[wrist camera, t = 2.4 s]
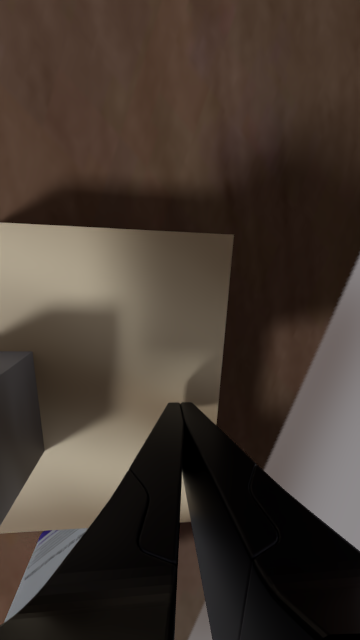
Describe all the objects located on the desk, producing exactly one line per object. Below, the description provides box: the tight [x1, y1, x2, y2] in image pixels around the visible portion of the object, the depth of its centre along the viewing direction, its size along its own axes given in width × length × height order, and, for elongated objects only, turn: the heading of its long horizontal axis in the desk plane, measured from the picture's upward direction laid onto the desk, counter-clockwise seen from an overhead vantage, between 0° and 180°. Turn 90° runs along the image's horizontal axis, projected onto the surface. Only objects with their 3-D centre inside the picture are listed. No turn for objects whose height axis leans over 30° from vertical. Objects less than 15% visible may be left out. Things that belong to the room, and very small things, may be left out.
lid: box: [0, 223, 234, 533], centre depth 8 cm, size 12×10×4 cm
